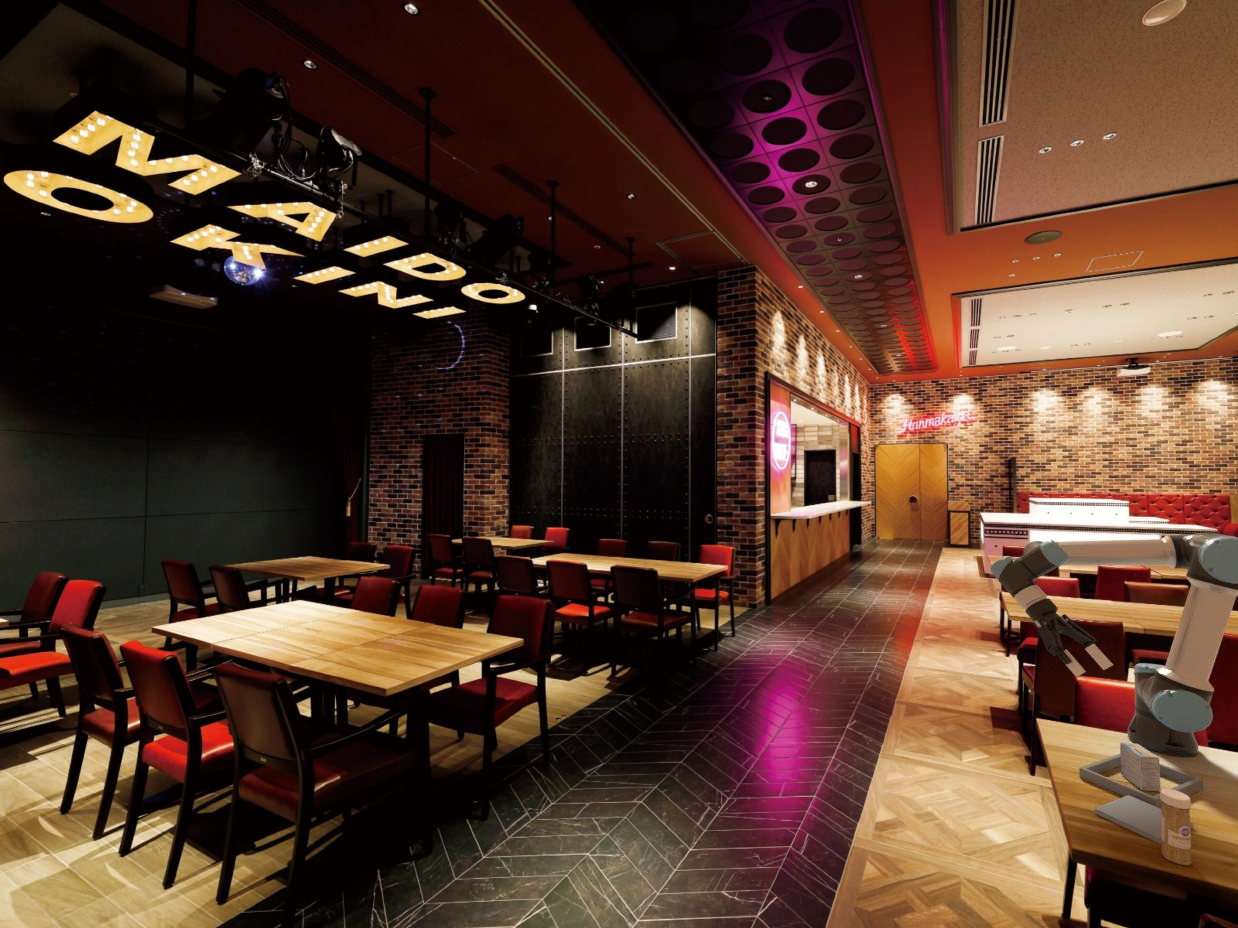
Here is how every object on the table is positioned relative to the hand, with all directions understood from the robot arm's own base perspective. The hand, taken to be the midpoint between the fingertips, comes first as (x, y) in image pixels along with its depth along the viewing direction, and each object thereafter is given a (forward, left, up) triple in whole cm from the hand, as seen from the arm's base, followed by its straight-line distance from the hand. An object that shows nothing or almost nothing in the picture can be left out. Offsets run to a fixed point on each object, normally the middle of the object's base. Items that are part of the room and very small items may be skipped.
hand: (1095, 670), depth 157 cm
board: (+19, +19, -26) cm, 37 cm away
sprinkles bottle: (+29, +29, -26) cm, 49 cm away
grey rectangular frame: (0, +10, -26) cm, 28 cm away
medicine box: (0, +10, -26) cm, 28 cm away
